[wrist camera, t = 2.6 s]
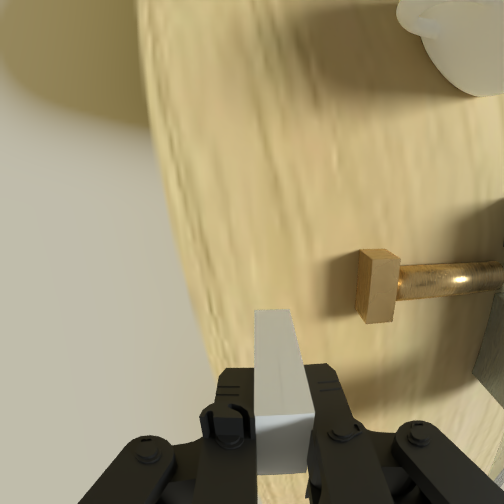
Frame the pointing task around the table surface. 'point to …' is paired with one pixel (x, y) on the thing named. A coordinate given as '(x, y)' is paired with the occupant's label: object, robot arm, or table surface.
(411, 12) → the mug
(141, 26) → the table surface
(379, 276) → the lynch pin
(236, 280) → the table surface
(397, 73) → the table surface
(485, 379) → the block
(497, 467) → the tab
